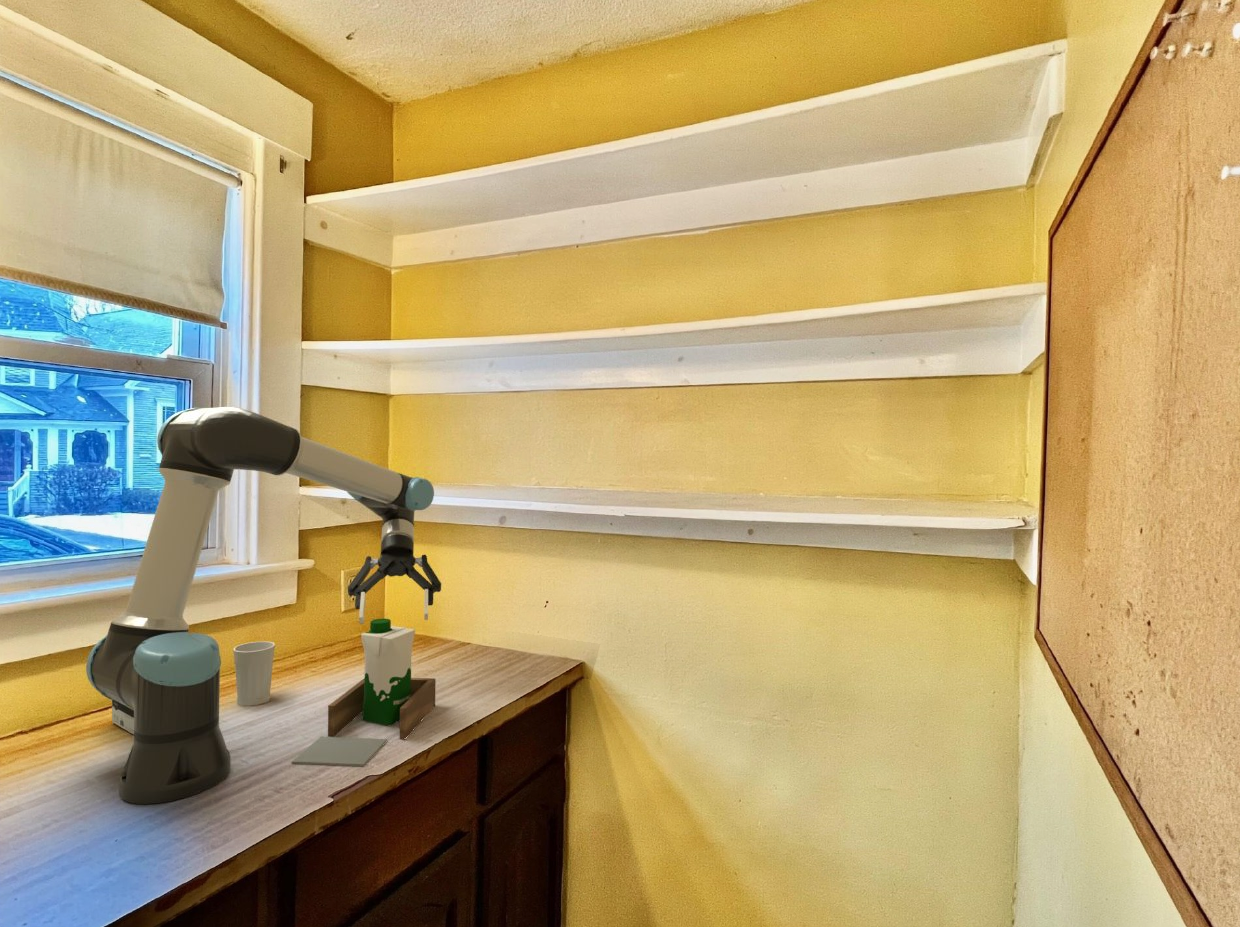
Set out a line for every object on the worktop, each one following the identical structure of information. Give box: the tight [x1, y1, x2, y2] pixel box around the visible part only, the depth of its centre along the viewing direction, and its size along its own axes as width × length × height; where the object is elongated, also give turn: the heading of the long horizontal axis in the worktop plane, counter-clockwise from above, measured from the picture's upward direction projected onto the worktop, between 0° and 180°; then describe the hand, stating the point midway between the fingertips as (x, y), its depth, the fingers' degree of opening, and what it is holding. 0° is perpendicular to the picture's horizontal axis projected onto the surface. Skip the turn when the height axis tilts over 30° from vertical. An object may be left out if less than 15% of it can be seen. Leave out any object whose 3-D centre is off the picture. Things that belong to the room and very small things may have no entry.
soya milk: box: [360, 618, 416, 726], centre depth 131 cm, size 9×9×20 cm
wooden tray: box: [327, 677, 436, 740], centre depth 130 cm, size 15×17×6 cm
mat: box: [290, 736, 388, 767], centre depth 116 cm, size 13×10×1 cm
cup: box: [232, 640, 276, 707], centre depth 139 cm, size 8×8×12 cm
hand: (394, 618), depth 140 cm, fingers open, 13 cm apart
